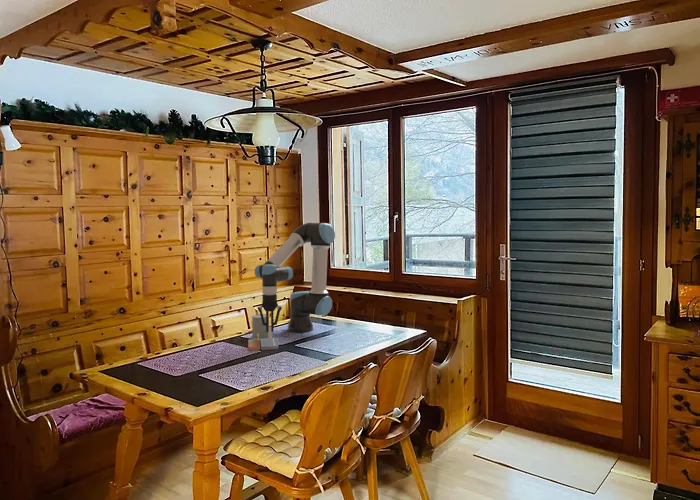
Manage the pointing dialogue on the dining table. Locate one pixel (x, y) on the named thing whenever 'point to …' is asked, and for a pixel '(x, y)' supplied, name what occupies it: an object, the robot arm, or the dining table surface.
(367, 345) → the dining table surface
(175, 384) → the dining table surface
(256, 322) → the grey cylinder
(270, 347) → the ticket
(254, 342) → the olive stub
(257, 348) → the terracotta stub
